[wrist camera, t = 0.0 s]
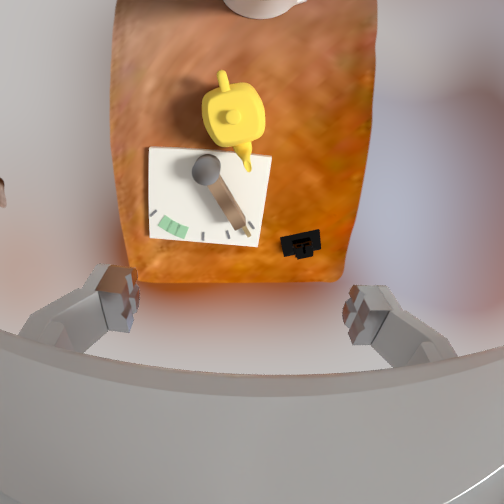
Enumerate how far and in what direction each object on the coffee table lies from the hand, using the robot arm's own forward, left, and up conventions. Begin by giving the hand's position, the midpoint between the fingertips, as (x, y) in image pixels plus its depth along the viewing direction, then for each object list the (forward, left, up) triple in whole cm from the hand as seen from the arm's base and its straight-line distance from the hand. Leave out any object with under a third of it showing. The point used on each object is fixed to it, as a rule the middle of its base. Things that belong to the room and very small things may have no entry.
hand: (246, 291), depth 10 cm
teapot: (-3, -1, -48) cm, 48 cm away
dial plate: (+14, -5, -48) cm, 50 cm away
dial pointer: (+13, -1, -46) cm, 48 cm away
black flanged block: (+23, +17, -49) cm, 57 cm away
